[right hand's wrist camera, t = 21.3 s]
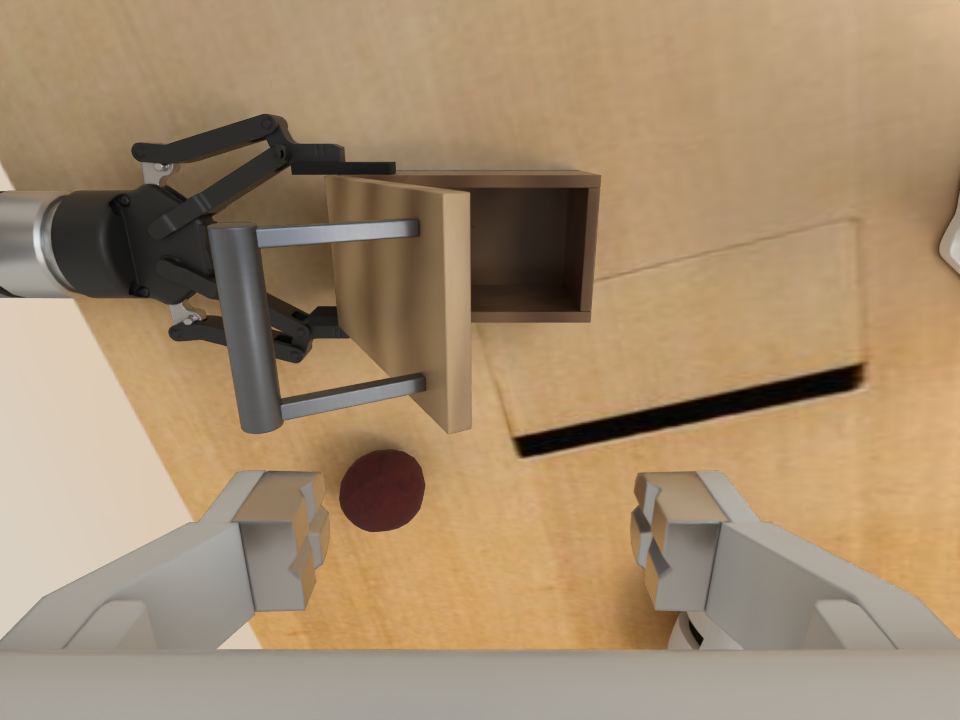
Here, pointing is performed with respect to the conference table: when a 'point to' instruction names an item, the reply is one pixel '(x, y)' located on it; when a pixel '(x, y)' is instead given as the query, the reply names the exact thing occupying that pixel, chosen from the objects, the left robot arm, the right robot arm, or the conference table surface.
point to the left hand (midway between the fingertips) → (396, 245)
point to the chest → (524, 239)
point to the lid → (361, 300)
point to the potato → (382, 490)
